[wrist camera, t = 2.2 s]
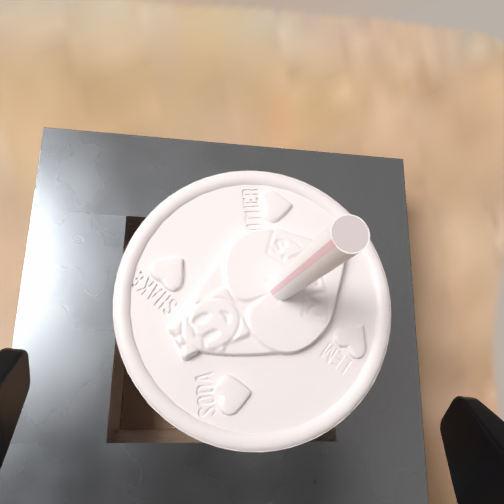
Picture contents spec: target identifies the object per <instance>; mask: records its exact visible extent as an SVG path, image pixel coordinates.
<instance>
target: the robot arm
mask: <svg viewBox="0 0 504 504" xmlns="http://www.w3.org/2000/svg"><path fill="white" fill-rule="evenodd" d="M29 388H30V367H29V356H28V353H27V351H26V350H24V349H14V348H4V349H2V350H0V469H1V467H2V464H3V462H4V459H5V456H6V454H7V451H8V448H9V445H10V442H11V439H12V437H13V434H14V431H15V428H16V425H17V423H18V420H19V417H20V414H21V411H22V408H23V406H24V403H25V400H26V397H27V394H28V391H29ZM440 430H441V435H442V440H443V444H444V448H445V453H446V457H447V461H448V466H449V470H450V474H451V479H452V483H453V487H454V491H455V495H456V499H457V502H458V504H504V421H502V420H501V419H500V418H499V417H498V416H497V415H495V414H494V413H493V412H492V411H491V410H490V409H488V408H487V407H486V406H485V405H484V404H482V403H481V402H480V401H479V400H477V399H476V398H472V397H463V396H458V397H456V398H454V400H453V401H452V403H451V405H450V406H449V408H448V410H447V411H446V413H445V415H444V416H443V418H442V420H441V425H440Z"/></svg>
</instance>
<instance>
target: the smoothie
mask: <svg viewBox="0 0 504 504" xmlns="http://www.w3.org/2000/svg"><path fill="white" fill-rule="evenodd" d="M113 322H114V331H115V336H116V341H117V345H118V348H119V351H120V355H121V358H122V360H123V363H124V365H125V367H126V370H127V373H128V374H129V376H130V377H131V379H132V381H133V383H134V384H135V386H136V387H137V389H138V390H139V392H140V393H141V395H142V396H143V397H144V399H145V400H146V401H147V403H148V404H149V405H150V406H151V407H152V408H153V409H154V410H155V411H156V412H157V413H158V414H160V415H161V416H162V417H163V418H164V419H165V420H166V421H168V422H169V423H170V424H172V425H173V426H174V427H176V428H177V429H178V430H180V431H182V432H184V433H185V434H187V435H189V436H191V437H193V438H195V439H197V440H199V441H201V442H204V443H207V444H210V445H213V446H216V447H219V448H223V449H228V450H233V451H241V452H269V451H277V450H282V449H287V448H291V447H294V446H297V445H300V444H303V443H306V442H308V441H310V440H313V439H315V438H317V437H319V436H320V435H322V434H324V433H326V432H327V431H329V430H331V429H332V428H333V427H335V426H336V425H337V424H339V423H340V422H341V421H342V420H344V419H345V418H346V417H347V416H348V415H349V414H350V413H351V412H352V411H353V410H354V409H355V408H356V407H357V406H358V404H359V403H360V402H361V401H362V399H363V398H364V397H365V395H366V394H367V393H368V391H369V390H370V388H371V386H372V384H373V383H374V381H375V379H376V377H377V375H378V373H379V371H380V368H381V366H382V363H383V360H384V357H385V354H386V350H387V346H388V342H389V335H390V328H391V301H390V294H389V287H388V283H387V279H386V275H385V272H384V269H383V266H382V263H381V261H380V258H379V256H378V254H377V251H376V250H375V248H374V246H373V244H372V242H371V240H370V232H369V228H368V226H367V225H366V223H365V222H364V221H363V220H362V219H361V218H359V217H358V216H355V215H352V214H350V213H349V212H348V211H347V210H346V209H344V208H343V207H342V206H341V205H340V204H339V203H338V202H336V201H335V200H334V199H332V198H331V197H330V196H328V195H327V194H325V193H324V192H322V191H320V190H319V189H317V188H315V187H313V186H311V185H309V184H307V183H305V182H302V181H300V180H297V179H295V178H292V177H288V176H285V175H281V174H276V173H271V172H263V171H234V172H227V173H221V174H217V175H213V176H210V177H206V178H203V179H201V180H198V181H196V182H193V183H191V184H189V185H187V186H185V187H183V188H181V189H180V190H178V191H177V192H175V193H173V194H172V195H170V196H169V197H168V198H167V199H165V200H164V201H163V202H161V203H160V204H159V205H158V206H157V207H156V208H155V209H154V210H153V211H152V212H151V213H150V214H149V215H148V216H147V217H146V218H145V220H144V221H143V222H142V223H141V225H140V226H139V227H138V229H137V230H136V232H135V233H134V235H133V237H132V238H131V240H130V242H129V244H128V245H127V248H126V250H125V252H124V255H123V257H122V259H121V262H120V265H119V269H118V272H117V276H116V281H115V286H114V295H113Z"/></svg>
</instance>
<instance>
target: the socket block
mask: <svg viewBox="0 0 504 504" xmlns="http://www.w3.org/2000/svg"><path fill="white" fill-rule="evenodd" d="M234 171H263V172H271V173H276V174H281V175H285V176H288V177H292V178H295V179H297V180H300V181H302V182H305V183H307V184H309V185H311V186H313V187H315V188H317V189H319V190H320V191H322V192H324V193H325V194H327V195H328V196H330V197H331V198H332V199H334V200H335V201H336V202H338V203H339V204H340V205H341V206H342V207H343V208H344V209H346V210H347V211H348V212H349V213H350V214H352V215H355V216H358V217H359V218H361V219H362V220H363V221H364V222H365V223H366V225H367V226H368V228H369V232H370V240H371V242H372V244H373V246H374V248H375V250H376V251H377V254H378V256H379V258H380V261H381V263H382V266H383V269H384V272H385V275H386V279H387V283H388V287H389V294H390V301H391V328H390V335H389V342H388V346H387V350H386V354H385V357H384V360H383V363H382V366H381V368H380V371H379V373H378V375H377V377H376V379H375V381H374V383H373V384H372V386H371V388H370V390H369V391H368V393H367V394H366V395H365V397H364V398H363V399H362V401H361V402H360V403H359V404H358V406H357V407H356V408H355V409H354V410H353V411H352V412H351V413H350V414H349V415H348V416H347V417H346V418H345V419H344V420H342V421H341V422H340V423H339V424H337V425H336V426H335V427H333V428H332V429H331V430H329V431H327V432H326V433H324V434H322V435H320V436H319V437H317V438H315V439H313V440H310V441H308V442H306V443H303V444H300V445H297V446H294V447H291V448H287V449H282V450H277V451H269V452H241V451H233V450H228V449H223V448H219V447H216V446H213V445H210V444H207V443H204V442H201V441H199V440H197V439H195V438H193V437H191V436H189V435H187V434H185V433H184V432H182V431H180V430H178V429H120V418H121V406H122V394H123V382H124V370H125V365H124V363H123V360H122V358H121V355H120V351H119V348H118V345H117V341H116V336H115V331H114V322H113V295H114V286H115V281H116V276H117V272H118V269H119V265H120V262H121V259H122V257H123V255H124V252H125V250H126V248H127V245H128V244H129V242H130V240H131V238H132V237H133V235H134V233H135V232H136V230H137V229H138V227H139V226H140V225H141V223H142V222H143V221H144V220H145V218H146V217H147V216H148V215H149V214H150V213H151V212H152V211H153V210H154V209H155V208H156V207H157V206H158V205H159V204H160V203H161V202H163V201H164V200H165V199H167V198H168V197H169V196H170V195H172V194H173V193H175V192H177V191H178V190H180V189H181V188H183V187H185V186H187V185H189V184H191V183H193V182H196V181H198V180H201V179H203V178H206V177H210V176H213V175H217V174H221V173H227V172H234ZM12 348H14V349H24V350H26V351H27V353H28V356H29V367H30V388H29V391H28V394H27V397H26V400H25V403H24V406H23V408H22V411H21V414H20V417H19V420H18V423H17V425H16V428H15V431H14V434H13V437H12V439H11V442H10V445H9V448H8V451H7V454H6V456H5V459H4V462H3V464H2V467H1V469H0V504H429V502H428V488H427V475H426V462H425V448H424V435H423V421H422V408H421V394H420V381H419V368H418V354H417V341H416V327H415V314H414V300H413V287H412V274H411V260H410V247H409V233H408V220H407V206H406V193H405V180H404V166H403V159H395V158H384V157H372V156H361V155H350V154H339V153H327V152H316V151H305V150H294V149H282V148H271V147H260V146H249V145H237V144H226V143H215V142H204V141H192V140H181V139H170V138H159V137H148V136H136V135H125V134H114V133H103V132H91V131H80V130H69V129H58V128H46V127H44V129H43V136H42V143H41V150H40V157H39V164H38V171H37V178H36V185H35V192H34V199H33V206H32V212H31V219H30V226H29V233H28V240H27V247H26V254H25V261H24V268H23V275H22V282H21V289H20V295H19V302H18V309H17V316H16V323H15V330H14V337H13V344H12Z"/></svg>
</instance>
